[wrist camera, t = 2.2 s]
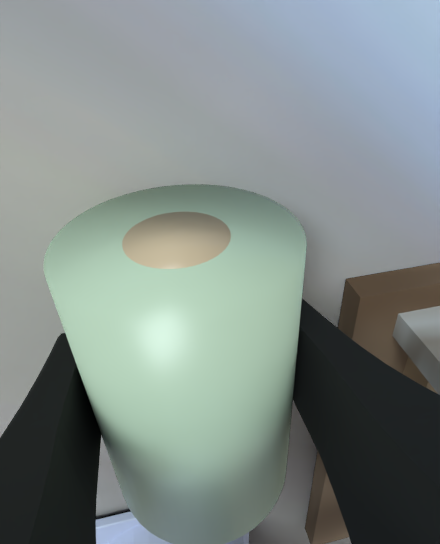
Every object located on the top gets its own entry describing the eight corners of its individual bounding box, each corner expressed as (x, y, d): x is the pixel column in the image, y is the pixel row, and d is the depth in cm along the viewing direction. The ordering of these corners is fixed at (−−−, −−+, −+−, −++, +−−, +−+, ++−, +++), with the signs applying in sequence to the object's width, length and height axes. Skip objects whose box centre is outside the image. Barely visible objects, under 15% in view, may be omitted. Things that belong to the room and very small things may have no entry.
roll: (259, 376, 16) (313, 521, 12) (118, 405, 15) (121, 570, 11) (262, 173, 11) (355, 292, 7) (57, 199, 10) (22, 351, 6)
